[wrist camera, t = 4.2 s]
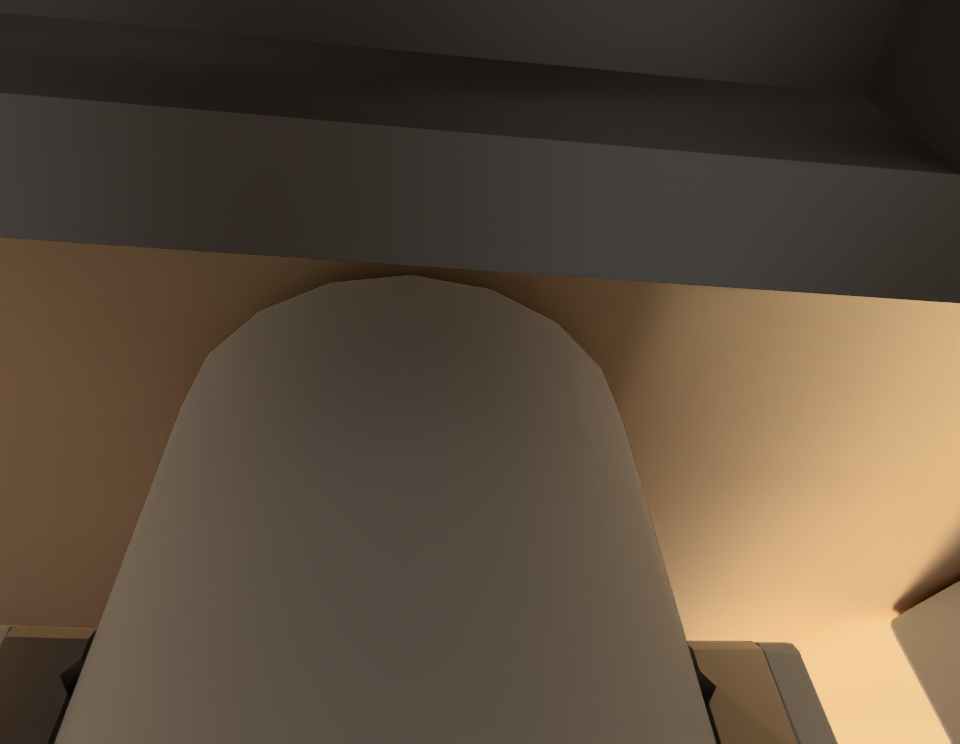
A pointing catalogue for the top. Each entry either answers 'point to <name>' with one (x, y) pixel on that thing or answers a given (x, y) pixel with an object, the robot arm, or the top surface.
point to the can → (393, 543)
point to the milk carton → (935, 653)
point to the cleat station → (499, 135)
